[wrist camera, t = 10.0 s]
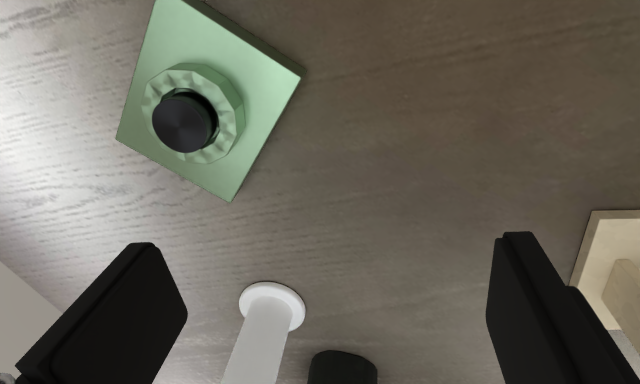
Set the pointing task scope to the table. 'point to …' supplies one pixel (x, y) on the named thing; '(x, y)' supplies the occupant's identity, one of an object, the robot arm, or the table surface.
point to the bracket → (612, 270)
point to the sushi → (341, 369)
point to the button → (184, 122)
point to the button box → (208, 92)
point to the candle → (263, 333)
